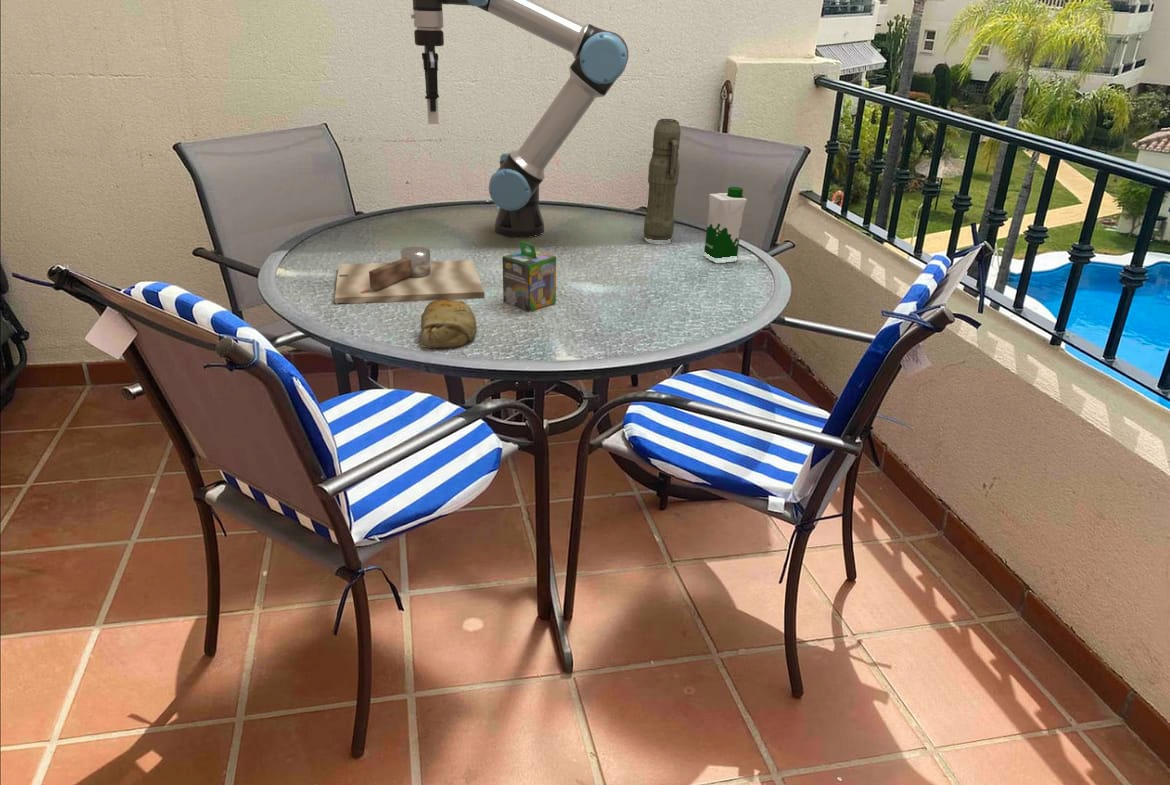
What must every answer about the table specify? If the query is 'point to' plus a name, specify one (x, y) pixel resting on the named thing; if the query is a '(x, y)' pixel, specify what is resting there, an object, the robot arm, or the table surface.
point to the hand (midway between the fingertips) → (433, 123)
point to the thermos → (662, 180)
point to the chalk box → (529, 278)
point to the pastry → (447, 324)
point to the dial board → (410, 284)
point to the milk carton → (724, 223)
